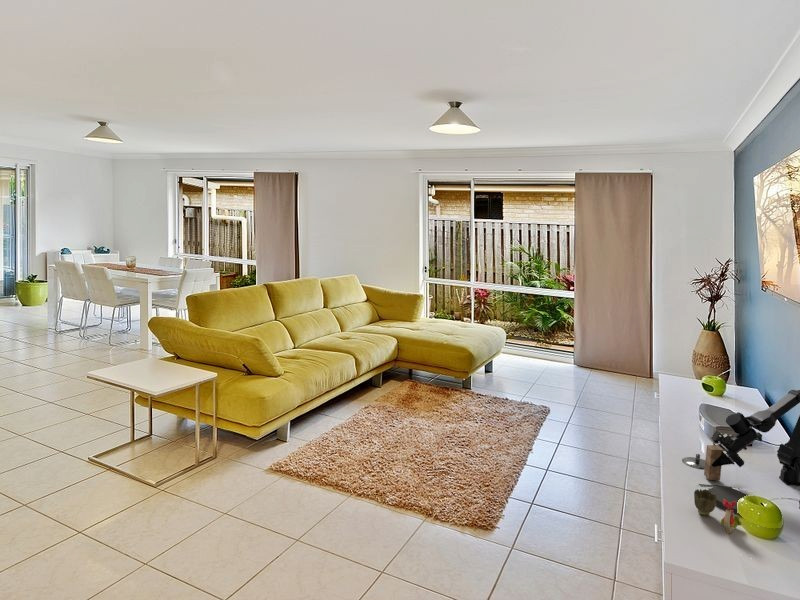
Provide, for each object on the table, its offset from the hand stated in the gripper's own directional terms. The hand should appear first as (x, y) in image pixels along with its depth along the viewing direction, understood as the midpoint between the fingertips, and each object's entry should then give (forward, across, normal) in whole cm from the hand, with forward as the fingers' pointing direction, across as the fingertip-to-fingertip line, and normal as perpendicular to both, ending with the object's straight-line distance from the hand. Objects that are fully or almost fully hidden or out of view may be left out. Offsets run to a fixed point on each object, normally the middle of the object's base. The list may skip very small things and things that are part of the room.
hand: (709, 463), depth 218 cm
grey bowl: (+5, -15, +7) cm, 17 cm away
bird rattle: (+11, +36, +1) cm, 38 cm away
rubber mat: (+5, 0, +6) cm, 8 cm away
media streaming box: (+5, +16, +7) cm, 18 cm away
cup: (+14, +27, -3) cm, 31 cm away
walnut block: (+3, 0, +5) cm, 6 cm away
